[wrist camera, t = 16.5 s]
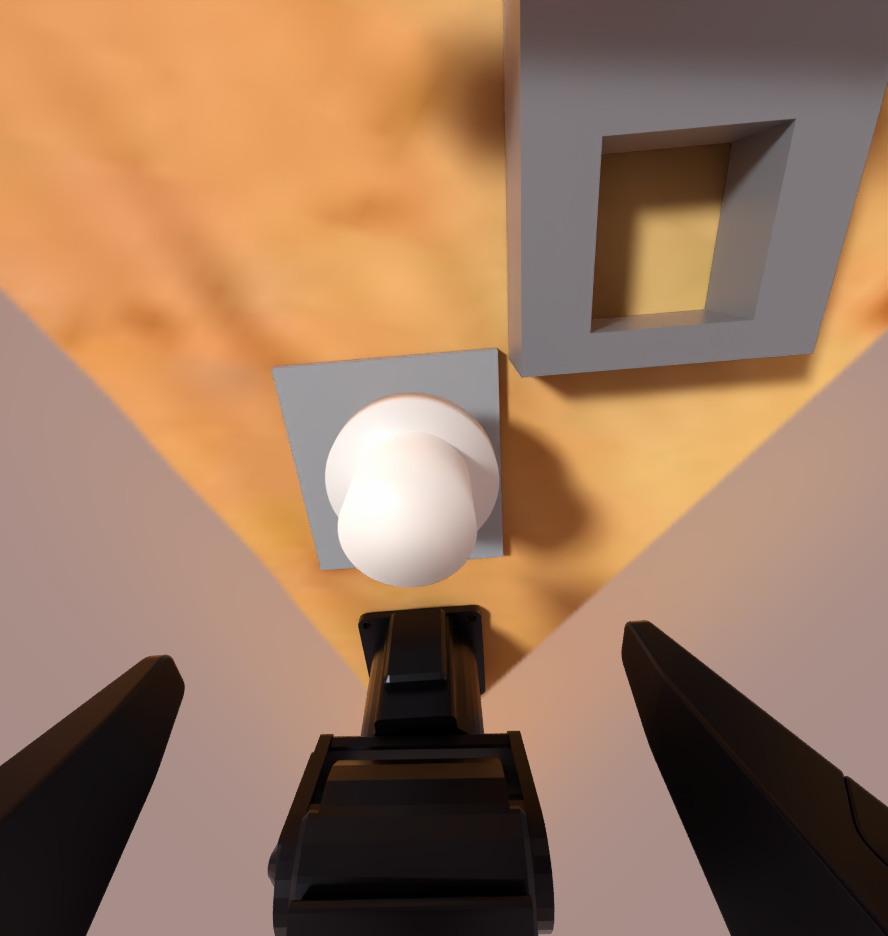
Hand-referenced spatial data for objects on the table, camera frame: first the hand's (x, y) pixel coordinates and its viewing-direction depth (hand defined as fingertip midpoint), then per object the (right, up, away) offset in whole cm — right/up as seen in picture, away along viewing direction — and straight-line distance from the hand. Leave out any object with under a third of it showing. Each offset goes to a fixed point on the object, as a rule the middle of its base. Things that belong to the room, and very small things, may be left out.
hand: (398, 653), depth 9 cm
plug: (0, +5, +10) cm, 11 cm away
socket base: (+8, +14, +7) cm, 18 cm away
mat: (-1, +4, +11) cm, 12 cm away
